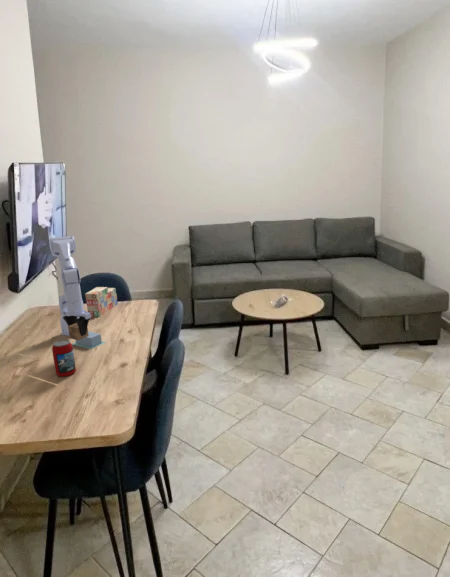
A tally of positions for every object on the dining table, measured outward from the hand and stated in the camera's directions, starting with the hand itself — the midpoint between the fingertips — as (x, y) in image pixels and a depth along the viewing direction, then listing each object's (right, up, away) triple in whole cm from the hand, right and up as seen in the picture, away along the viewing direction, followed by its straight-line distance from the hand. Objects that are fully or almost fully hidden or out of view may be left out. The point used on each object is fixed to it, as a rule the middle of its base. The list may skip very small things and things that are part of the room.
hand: (78, 333), depth 169 cm
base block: (0, -5, +12) cm, 13 cm away
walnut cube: (0, -1, 0) cm, 1 cm away
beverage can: (0, -13, -14) cm, 19 cm away
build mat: (0, -7, +8) cm, 11 cm away
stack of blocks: (-7, +6, +58) cm, 59 cm away
